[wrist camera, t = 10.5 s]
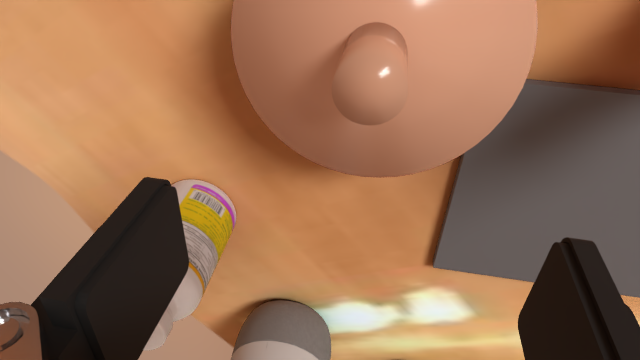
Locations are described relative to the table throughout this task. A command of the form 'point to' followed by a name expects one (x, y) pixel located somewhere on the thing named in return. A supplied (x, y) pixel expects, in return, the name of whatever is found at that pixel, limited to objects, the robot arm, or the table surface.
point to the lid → (382, 76)
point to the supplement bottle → (197, 248)
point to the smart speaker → (283, 334)
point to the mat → (549, 185)
